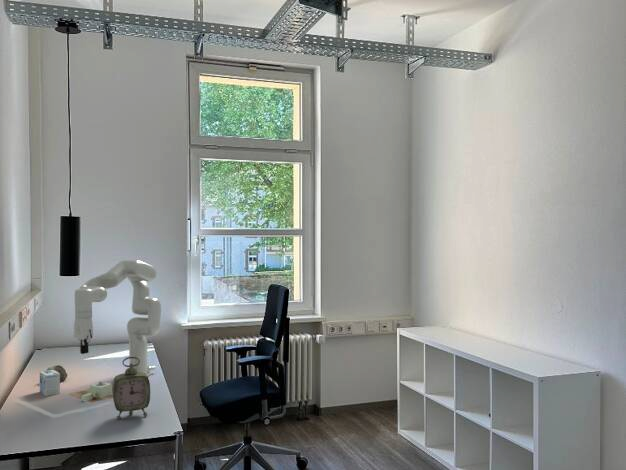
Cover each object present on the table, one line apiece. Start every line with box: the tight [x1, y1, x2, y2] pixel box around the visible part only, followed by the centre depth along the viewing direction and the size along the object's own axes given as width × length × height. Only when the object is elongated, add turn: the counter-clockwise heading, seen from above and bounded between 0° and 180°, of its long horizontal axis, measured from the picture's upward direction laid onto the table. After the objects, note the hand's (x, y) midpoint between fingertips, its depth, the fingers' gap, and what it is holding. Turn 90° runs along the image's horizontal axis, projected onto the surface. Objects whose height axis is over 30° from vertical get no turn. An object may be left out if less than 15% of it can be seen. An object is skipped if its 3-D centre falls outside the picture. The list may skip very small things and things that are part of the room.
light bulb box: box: [39, 370, 61, 397], centre depth 270 cm, size 11×7×11 cm, turn 40°
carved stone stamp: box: [46, 364, 68, 384], centre depth 296 cm, size 11×9×10 cm
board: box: [68, 384, 113, 403], centre depth 268 cm, size 22×22×1 cm
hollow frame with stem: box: [81, 382, 113, 402], centre depth 261 cm, size 14×7×5 cm, turn 156°
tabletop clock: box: [112, 356, 151, 421], centre depth 237 cm, size 14×9×25 cm, turn 114°
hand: (84, 353), depth 268 cm, fingers closed
